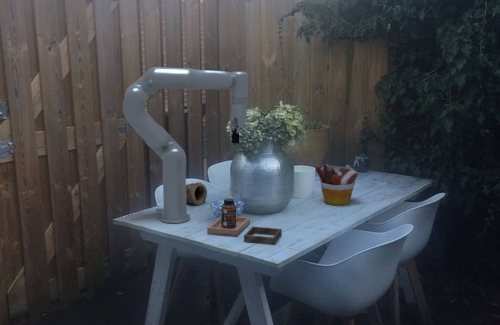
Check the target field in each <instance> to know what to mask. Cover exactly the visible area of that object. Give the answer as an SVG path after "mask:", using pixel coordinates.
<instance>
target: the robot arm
mask: <svg viewBox="0 0 500 325" xmlns="http://www.w3.org/2000/svg"><path fill="white" fill-rule="evenodd" d="M159 89H170V90H171V89H174V90H175V89H176V90H191V91H193V90H213V91H217V90H218V91H226V90H229V105H230V112H229V128H230V129H231V144H237V145H239V144H240V140H239V131H240V130H239V129H242V128H243V127H244V124H245V122H246V115H247V116H248V114H247V106H248V105H249V74H248V72H246V71H231V72H229V71H224V70H207V69H205V70H204V69H203V70H202V69H195V68H191V67H190V68H188V67H167V66H154V67H150V68H149V69H148V70H147V71H146V72H144V73H143V74H142V75H141V76H140V77H139V78H138V79H136V81H134V82H133V83H132V84H131V85H129V86H128V88H126V90H125V92H124V96H123V102H122V112H123V115H124V116H123V117H124V118H125V119H126V121H127V122H128V124H129V125H130V126H131V127H132V128H133V130H134V131H135V132H136V133H137V135H138V136H140V137H141V139H143V141H144V143H145V144H146V145H147V146H148V147H150V148H151V149H152V151H153V152H154V153H156V154H157V156H158V157H159V158H160V159H161V160H162V187H163V188H162V194H163V195H162V197H163V198H162V199H163V208H158V207H157V208H155V214H156V215H161V216H160V218H159V219H160V221H161V222H163V223H166V224H181V223H185V222H188V221H190V220H191V215H190V214H188V212H187V208H188V207H187V202H186V185H187V176H186V175H187V174H186V173H187V155H186V152H185V150H184V149H183V148H182V147H181V146H180V145H179V144H178V142H177V141H176V140H175V139H174V138H173V137H172V136H171V135H170V134H169V133H168V131H167V130H165V128H164V127H163V126H162V125H160V124H158V122H156V121H155V119H154V118H153V117H152V116H151V115H150V114H149V112H148V111H147V110H146V108H145V105H146V102H147V99H148V98H150V97H151V96H152V95H153V94H154V93H155V92H156V91H158V90H159Z"/></svg>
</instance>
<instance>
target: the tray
mask: <svg viewBox="0 0 500 325" xmlns="http://www.w3.org/2000/svg"><path fill="white" fill-rule="evenodd" d="M250 224H251V217H249V216H248V217H246V216H237V219H236V227H234V228H223V227H222V224H221V219H220V217H219V218H217V219H216V220H215V221H213V222H212V223H211V224H210V225H209V226H208V227H207V230H206V231H207V232H206V234H207V235H210V234H211V235H212V236H221V235H222V236H221V237H223V236H224V237H234V238H238V237H239V236H240V235H241V234H242V233H243V231H245V229H246V228H247V227H248V226H250Z"/></svg>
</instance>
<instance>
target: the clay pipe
mask: <svg viewBox="0 0 500 325" xmlns="http://www.w3.org/2000/svg"><path fill="white" fill-rule="evenodd" d="M207 197H208V190H207V186H206V185H205V184H204V183H202V182H195V183H194V182H193V183H188V184H187V183H186V203H187V204H188V205H189V204H191V205H192V204H194V205H196V206H201V205H203V204H204V203H205V201H206V200H207Z"/></svg>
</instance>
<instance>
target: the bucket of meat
mask: <svg viewBox="0 0 500 325" xmlns="http://www.w3.org/2000/svg"><path fill="white" fill-rule="evenodd" d="M315 171H316V173H317V175H318V176H319V179H320V180H319V183H320V188H321V192H322V193H321V194H322V197H323V201H324V202H325V203H326V204H327V205H330V204H331V206H340V205H341V206H346V205H347V204H349V203H350V201H351V198H352V194H353V190H354V187H355V184H356V183H355V182H356V179H357V177H358V175H359V172H358V171H356V170H354V169H353V168H352V167H351V166H350V165H349V164H346V165H345V168H344V167H343V168H342V167H340V168H339V170H337V171H336V170H335V169H334V168H333V167H332V166H331V167H329V165H328V164H327V163H323V166H322V167H320V166H318V165H317V166H316V167H315Z"/></svg>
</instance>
